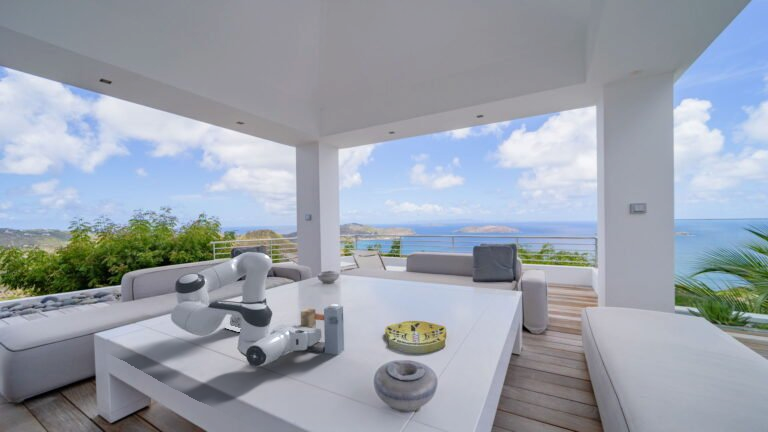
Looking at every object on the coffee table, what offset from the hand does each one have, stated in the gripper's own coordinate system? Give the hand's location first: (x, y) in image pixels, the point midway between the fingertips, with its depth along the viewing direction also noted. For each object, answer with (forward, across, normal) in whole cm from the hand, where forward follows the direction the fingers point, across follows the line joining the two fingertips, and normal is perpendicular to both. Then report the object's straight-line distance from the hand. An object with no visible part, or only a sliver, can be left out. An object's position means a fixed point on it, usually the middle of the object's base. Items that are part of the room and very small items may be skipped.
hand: (308, 326), depth 125 cm
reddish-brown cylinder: (0, +7, +4) cm, 8 cm away
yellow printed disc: (+23, +41, -9) cm, 48 cm away
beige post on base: (0, 0, -6) cm, 6 cm away
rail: (0, -3, -9) cm, 9 cm away
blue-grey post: (0, +13, -9) cm, 15 cm away
